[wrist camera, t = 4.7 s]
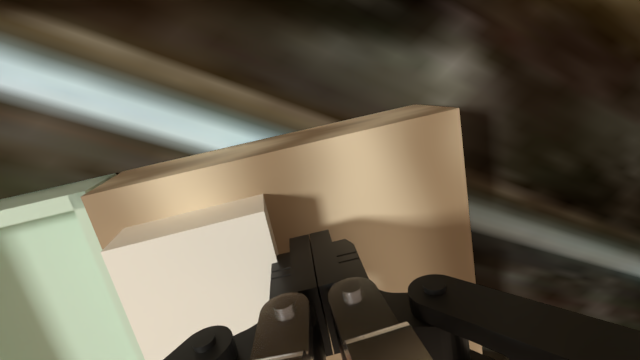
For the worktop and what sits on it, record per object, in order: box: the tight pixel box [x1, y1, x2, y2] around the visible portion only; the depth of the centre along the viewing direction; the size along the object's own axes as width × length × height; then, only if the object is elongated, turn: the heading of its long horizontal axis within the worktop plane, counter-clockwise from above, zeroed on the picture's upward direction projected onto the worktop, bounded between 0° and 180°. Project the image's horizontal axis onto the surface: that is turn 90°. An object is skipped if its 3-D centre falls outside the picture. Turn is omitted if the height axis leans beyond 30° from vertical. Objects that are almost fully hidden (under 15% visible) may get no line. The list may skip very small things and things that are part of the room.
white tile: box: [101, 194, 279, 360], centre depth 13 cm, size 5×5×2 cm
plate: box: [81, 104, 482, 360], centre depth 17 cm, size 14×16×4 cm
